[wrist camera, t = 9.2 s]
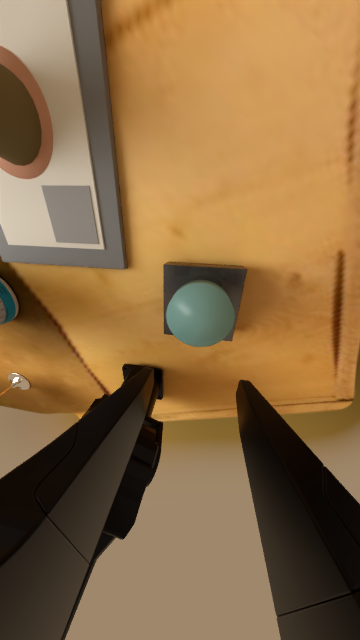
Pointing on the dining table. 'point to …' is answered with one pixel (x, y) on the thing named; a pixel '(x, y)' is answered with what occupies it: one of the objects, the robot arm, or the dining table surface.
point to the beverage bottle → (7, 303)
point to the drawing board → (62, 139)
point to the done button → (200, 313)
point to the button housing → (222, 275)
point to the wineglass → (17, 382)
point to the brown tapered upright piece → (17, 121)
